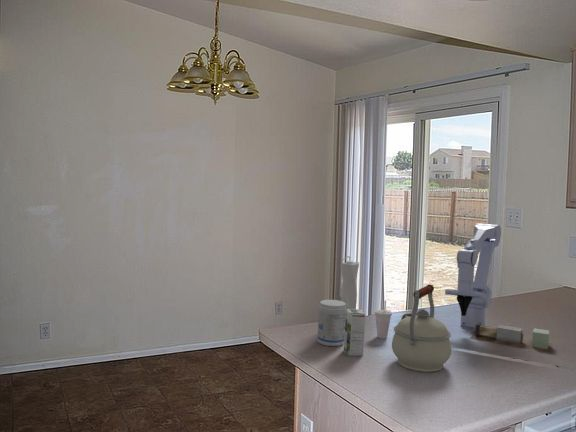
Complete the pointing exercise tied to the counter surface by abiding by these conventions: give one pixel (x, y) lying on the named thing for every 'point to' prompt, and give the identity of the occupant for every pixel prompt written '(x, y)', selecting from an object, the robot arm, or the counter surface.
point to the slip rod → (489, 331)
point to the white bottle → (349, 283)
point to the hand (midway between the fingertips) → (463, 315)
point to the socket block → (540, 338)
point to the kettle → (422, 338)
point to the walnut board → (523, 344)
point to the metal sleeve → (509, 334)
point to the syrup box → (354, 332)
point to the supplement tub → (331, 322)
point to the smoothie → (382, 322)
